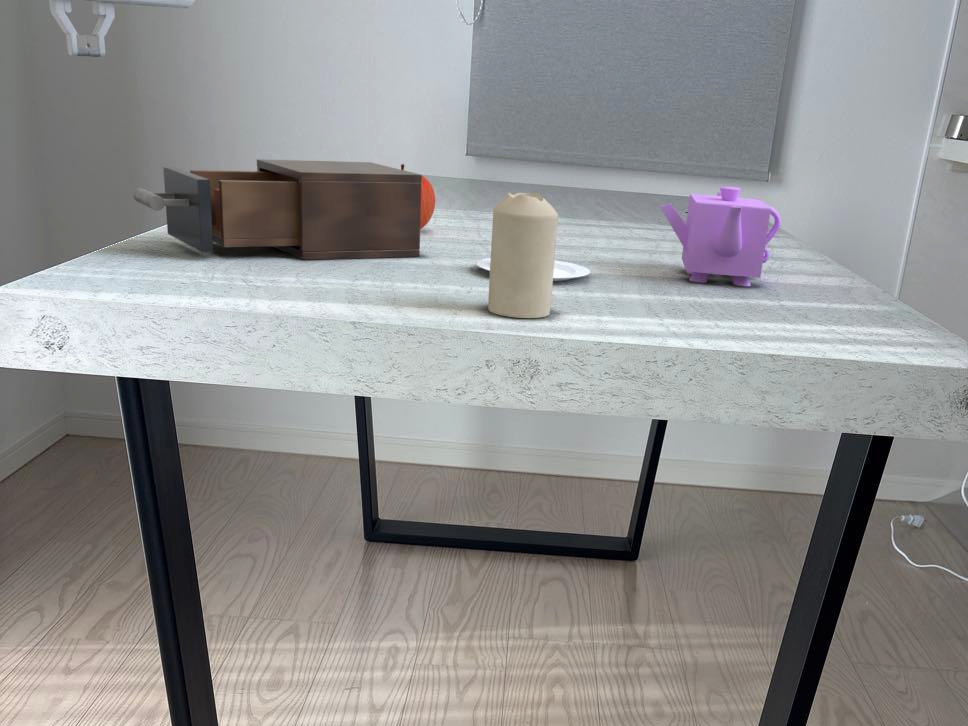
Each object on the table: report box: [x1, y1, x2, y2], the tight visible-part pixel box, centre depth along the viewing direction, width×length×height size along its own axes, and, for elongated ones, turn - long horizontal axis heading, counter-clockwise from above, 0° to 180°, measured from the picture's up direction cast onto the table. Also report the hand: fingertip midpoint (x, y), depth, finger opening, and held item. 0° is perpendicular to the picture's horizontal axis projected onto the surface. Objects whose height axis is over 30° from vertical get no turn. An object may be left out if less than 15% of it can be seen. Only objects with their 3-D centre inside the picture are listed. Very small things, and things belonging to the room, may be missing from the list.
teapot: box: [660, 185, 782, 287], centre depth 115 cm, size 18×13×10 cm
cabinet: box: [256, 158, 423, 261], centre depth 115 cm, size 14×13×9 cm
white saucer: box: [475, 257, 591, 282], centre depth 110 cm, size 12×12×4 cm
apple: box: [400, 163, 436, 230], centre depth 132 cm, size 8×8×8 cm
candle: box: [487, 192, 559, 319], centre depth 91 cm, size 6×6×10 cm
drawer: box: [132, 166, 300, 253], centre depth 109 cm, size 16×11×7 cm
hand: (87, 56), depth 97 cm, fingers closed
